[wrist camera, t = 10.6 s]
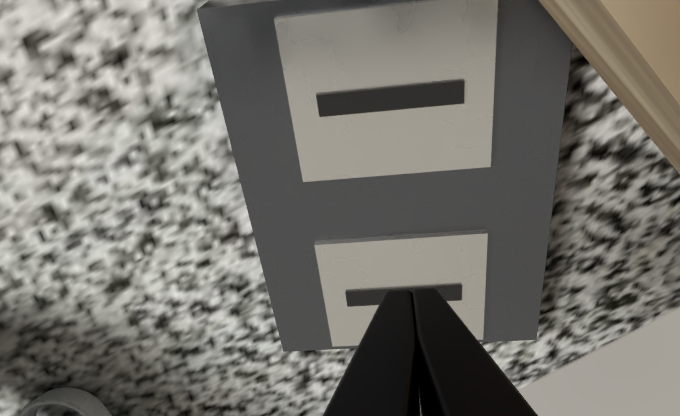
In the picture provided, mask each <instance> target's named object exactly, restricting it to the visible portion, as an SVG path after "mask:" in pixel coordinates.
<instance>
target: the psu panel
mask: <svg viewBox="0 0 680 416" xmlns="http://www.w3.org/2000/svg"><path fill="white" fill-rule="evenodd" d="M197 12H198V16H199V20H200V24H201V28H202V32H203V36H204V40H205V44H206V48H207V52H208V56H209V60H210V63H211V67H212V71H213V75H214V79H215V83H216V87H217V91H218V95H219V99H220V103H221V107H222V111H223V115H224V119H225V123H226V127H227V131H228V134H229V138H230V142H231V146H232V150H233V154H234V158H235V162H236V166H237V170H238V174H239V178H240V182H241V186H242V190H243V194H244V198H245V202H246V205H247V209H248V213H249V217H250V221H251V225H252V229H253V233H254V237H255V241H256V245H257V249H258V253H259V257H260V261H261V265H262V269H263V273H264V276H265V280H266V284H267V288H268V292H269V296H270V300H271V304H272V308H273V312H274V316H275V320H276V324H277V328H278V332H279V336H280V340H281V344H282V347H283V351H305V350H326V349H347V348H357V347H358V345H359V343H360V341H361V339H362V338H363V336H364V334H365V332H366V330H367V328H368V326H369V324H370V322H371V320H372V318H373V316H374V314H375V312H376V310H377V308H378V306H379V304H380V302H381V300H382V298H383V296H384V294H385V293H386V291H387V290H389V289H402V288H408V289H410V291H412V289H413V288H419V287H434V288H436V289H437V290H438V291H439V292H440V294H441V295H442V296H443V297H444V299H445V300H446V301H447V302H448V304H449V305H450V306H451V307H452V309H453V310H454V311H455V313H456V314H457V315H458V316H459V318H460V319H461V320H462V321H463V323H464V324H465V325H466V326H467V328H468V329H469V330H470V331H471V333H472V334H473V335H474V336H475V338H476V339H477V340H478V341H479V342H497V341H518V340H536V339H537V331H538V323H539V314H540V306H541V298H542V290H543V281H544V273H545V265H546V257H547V249H548V240H549V232H550V224H551V216H552V208H553V199H554V191H555V183H556V175H557V167H558V158H559V150H560V142H561V134H562V126H563V117H564V109H565V101H566V93H567V85H568V76H569V68H570V60H571V52H572V44H573V42H572V41H571V40H570V38H569V37H568V36H567V35H566V33H565V32H564V31H563V30H562V29H561V27H560V26H559V25H558V24H557V22H556V21H555V20H554V19H553V17H552V16H551V15H550V14H549V13H548V11H547V10H546V9H545V8H544V6H543V5H542V4H541V3H540V1H539V0H210V1H208V2H206V3H205V4H204V5H202V6H201V7H200V8H198V9H197Z"/></svg>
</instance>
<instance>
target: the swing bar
mask: <svg viewBox="0 0 680 416" xmlns="http://www.w3.org/2000/svg"><path fill="white" fill-rule="evenodd" d="M539 1H540V3H541V4H542V5H543V6H544V8H545V9H546V10H547V11H548V13H549V14H550V15H551V16H552V17H553V19H554V20H555V21H556V22H557V24H558V25H559V26H560V27H561V29H562V30H563V31H564V32H565V33H566V35H567V36H568V37H569V38H570V40H571V41H572V42H573V43H574V45H575V46H576V47H577V48H578V49H579V51H580V52H581V53H582V54H583V56H584V57H585V58H586V59H587V61H588V62H589V63H590V64H591V65H592V67H593V68H594V69H595V70H596V72H597V73H598V74H599V75H600V77H601V78H602V79H603V80H604V81H605V83H606V84H607V85H608V86H609V88H610V89H611V90H612V91H613V93H614V94H615V95H616V96H617V97H618V99H619V100H620V101H621V102H622V104H623V105H624V106H625V107H626V109H627V110H628V111H629V112H630V113H631V115H632V116H633V117H634V118H635V120H636V121H637V122H638V123H639V125H640V126H641V127H642V128H643V129H644V131H645V132H646V133H647V134H648V136H649V137H650V138H651V139H652V141H653V142H654V143H655V144H656V145H657V147H658V148H659V149H660V150H661V152H662V153H663V154H664V155H665V157H666V158H667V159H668V160H669V161H670V163H671V164H672V165H673V166H674V168H675V169H676V170H677V171H678V173H679V174H680V0H539Z"/></svg>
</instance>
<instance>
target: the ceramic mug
mask: <svg viewBox="0 0 680 416" xmlns="http://www.w3.org/2000/svg"><path fill="white" fill-rule="evenodd" d="M48 404H57V405H62V406H65V407H68V408H71V409H73V410H75V411H77V412H78V413H79V414H81V415H82V416H112V415H111V413H110V412H109V411H108V410H107V408H106V407H105V406H104V405H103V402H101V401H100V400H99V399H98V398H96V397H95V396H93V395H92V394H90V393H89V392H86V391H84V390H80V389H77V388H71V387H63V388H57V389H53V390H50V391H48V392H45V393H44V394H42V395H41V396H39V397H38V398H36V399H35V400H33V401H31V402H30V403H29V404H27V405H26V406H25V407H24V409H23V410H22V411H21V412H20V414H19V415H18V416H36V413H37V410H38V408H39V407H40V406H43V405H48Z"/></svg>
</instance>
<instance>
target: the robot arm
mask: <svg viewBox="0 0 680 416" xmlns="http://www.w3.org/2000/svg"><path fill="white" fill-rule="evenodd" d="M419 398H420V400H419ZM420 407H421V415H422V416H538V415H537V414H536V413H535V412H534V410H533V409H532V408H531V406H530V405H529V404H528V403H527V401H526V400H525V399H524V398H523V396H522V395H521V394H520V393H519V391H518V390H517V389H516V388H515V386H514V385H513V384H512V383H511V381H510V380H509V379H508V378H507V376H506V375H505V374H504V373H503V371H502V370H501V369H500V368H499V366H498V365H497V364H496V363H495V361H494V360H493V359H492V358H491V356H490V355H489V354H488V353H487V351H486V350H485V349H484V348H483V346H482V345H481V344H480V343H479V341H478V340H477V339H476V338H475V336H474V335H473V334H472V333H471V331H470V330H469V329H468V328H467V326H466V325H465V324H464V323H463V321H462V320H461V319H460V318H459V316H458V315H457V314H456V313H455V311H454V310H453V309H452V307H451V306H450V305H449V304H448V302H447V301H446V300H445V299H444V297H443V296H442V295H441V294H440V292H439V291H438V290H437V289H436V288H434V287H419V288H413V289H412V291H410V289H408V288H402V289H389V290H387V291H386V293H385V294H384V296H383V298H382V300H381V302H380V304H379V306H378V308H377V310H376V312H375V314H374V316H373V318H372V320H371V322H370V324H369V326H368V328H367V330H366V332H365V334H364V336H363V338H362V339H361V341H360V343H359V345H358V347H357V349H356V351H355V353H354V355H353V357H352V359H351V361H350V363H349V365H348V367H347V369H346V371H345V373H344V375H343V377H342V379H341V381H340V383H339V385H338V387H337V389H336V391H335V393H334V394H333V396H332V398H331V400H330V402H329V404H328V406H327V408H326V410H325V412H324V414H323V416H420Z"/></svg>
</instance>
